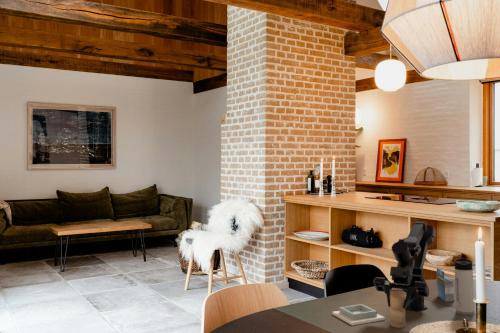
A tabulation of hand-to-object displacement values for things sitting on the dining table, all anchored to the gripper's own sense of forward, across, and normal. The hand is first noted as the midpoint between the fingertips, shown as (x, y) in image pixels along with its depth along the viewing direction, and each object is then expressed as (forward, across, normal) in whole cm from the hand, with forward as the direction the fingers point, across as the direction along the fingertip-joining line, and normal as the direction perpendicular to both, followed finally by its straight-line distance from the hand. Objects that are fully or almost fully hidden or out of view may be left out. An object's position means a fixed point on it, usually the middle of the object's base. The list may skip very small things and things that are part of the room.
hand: (396, 307), depth 167 cm
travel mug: (-14, +18, +24) cm, 33 cm away
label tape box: (-26, +7, +35) cm, 44 cm away
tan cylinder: (+4, 0, +6) cm, 7 cm away
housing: (+2, -16, +7) cm, 17 cm away
